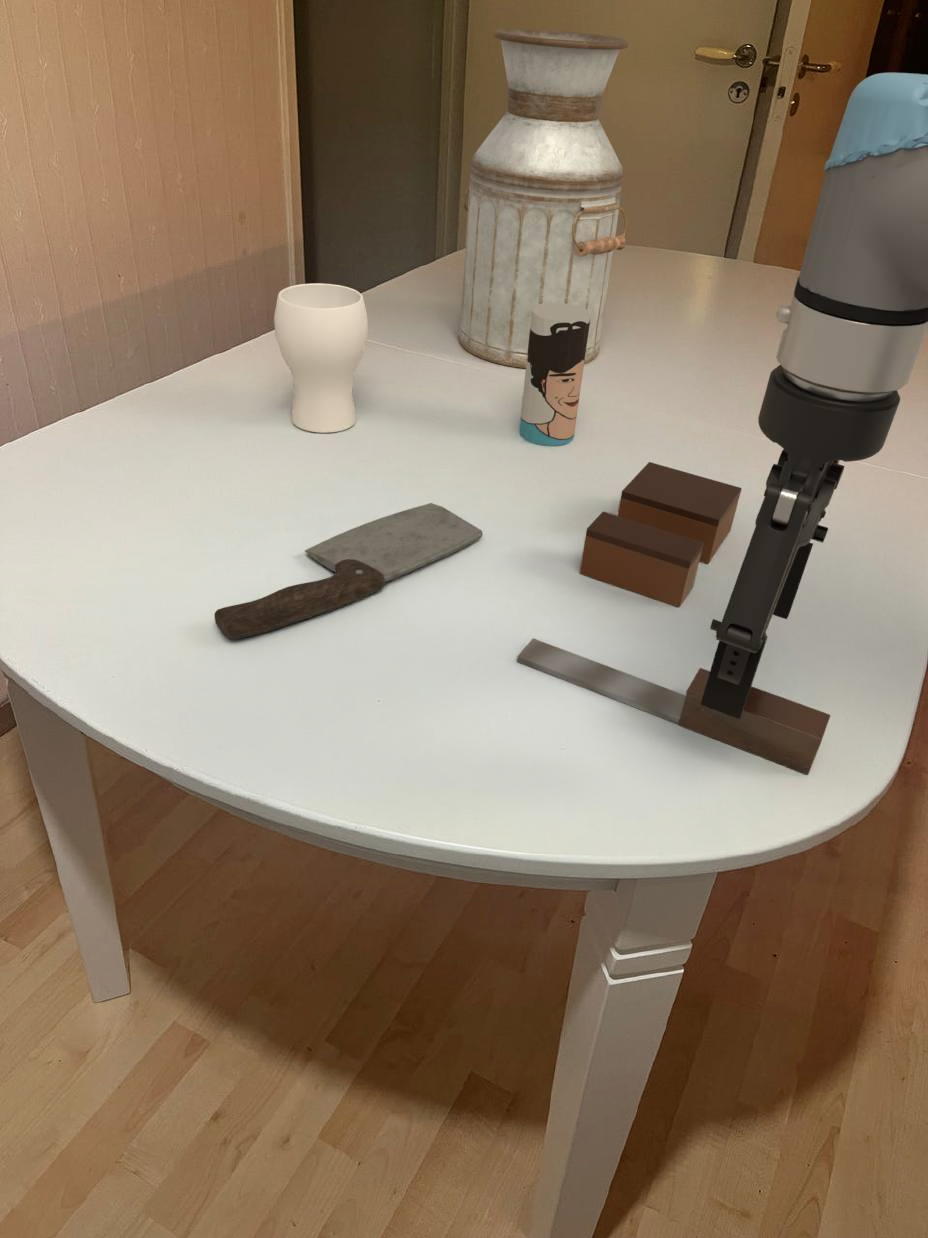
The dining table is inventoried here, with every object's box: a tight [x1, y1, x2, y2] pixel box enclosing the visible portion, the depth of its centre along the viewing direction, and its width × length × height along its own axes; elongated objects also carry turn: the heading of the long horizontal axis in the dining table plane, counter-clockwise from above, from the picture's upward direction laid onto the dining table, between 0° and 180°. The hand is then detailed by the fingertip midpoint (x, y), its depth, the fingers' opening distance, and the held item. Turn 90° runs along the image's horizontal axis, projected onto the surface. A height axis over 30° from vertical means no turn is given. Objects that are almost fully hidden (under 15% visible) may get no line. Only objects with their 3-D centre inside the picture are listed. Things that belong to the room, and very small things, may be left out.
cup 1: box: [273, 282, 369, 434], centre depth 108 cm, size 11×11×15 cm
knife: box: [516, 638, 831, 776], centre depth 72 cm, size 24×3×4 cm, turn 61°
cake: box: [617, 461, 742, 565], centre depth 94 cm, size 10×8×5 cm
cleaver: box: [214, 502, 484, 640], centre depth 85 cm, size 30×10×2 cm, turn 137°
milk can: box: [457, 28, 629, 369], centre depth 128 cm, size 24×21×40 cm
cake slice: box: [579, 511, 704, 608], centre depth 86 cm, size 10×4×5 cm, turn 61°
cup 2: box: [518, 303, 591, 447], centre depth 109 cm, size 7×7×15 cm
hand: (747, 657), depth 67 cm, fingers open, 13 cm apart
